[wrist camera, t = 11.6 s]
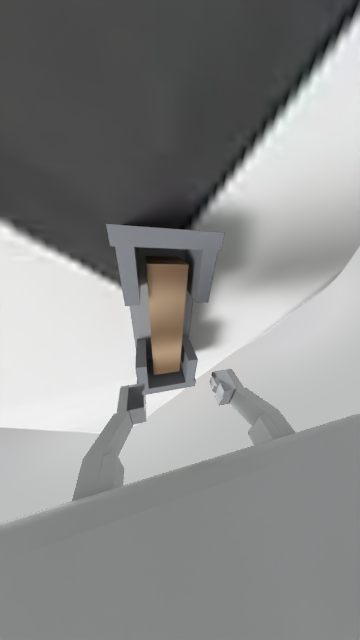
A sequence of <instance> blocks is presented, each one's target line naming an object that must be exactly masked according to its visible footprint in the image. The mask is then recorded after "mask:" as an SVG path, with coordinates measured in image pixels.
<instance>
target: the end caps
mask: <svg viewBox="0 0 360 640" xmlns="http://www.w3.org/2000/svg"><path fill="white" fill-rule="evenodd" d="M106 226H107V231H108V237H109V242H110V246H115V248H116V254H117V260H118V266H119V272H120V278H121V284H122V290H123V296H124V302H125V306H130V311H131V318H132V325H133V332H134V339H135V345H136V374H137V384H141V383H144V386H145V394H146V395H147V394H152V393H158V392H163V391H169V390H174V389H180V388H185V387H191V386H195V382H196V380H195V372H196V366H197V361H198V359H197V357H196V354H195V352H194V350H193V347H192V345H191V342H190V340H189V331H190V322H191V314H192V305H193V299H194V301H195V302H196V303H201V302H208V300H209V295H210V290H211V284H212V279H213V273H214V268H215V262H216V257H217V251H221V249H222V244H223V239H224V232H210V231H196V230H182V229H168V228H154V227H141V226H127V225H113V224H106ZM146 256H168V257H180V258H181V259H182V260H183V261H185V262H186V263H187V264H188V277H187V289H186V300H185V312H184V324H183V335H182V347H181V359H180V370H179V371H177V372H170V373H164V374H157V375H154V371H153V359H152V345H151V330H150V315H149V301H148V286H147V271H146Z"/></svg>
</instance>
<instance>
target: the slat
mask: <svg viewBox="0 0 360 640" xmlns="http://www.w3.org/2000/svg"><path fill="white" fill-rule="evenodd" d="M146 271H147V286H148V301H149V315H150V330H151V345H152V359H153V371H154V375H157V374H164V373H170V372H177V371H179V370H180V359H181V347H182V335H183V324H184V312H185V300H186V289H187V277H188V264H187V263H186V262H185V261H183V260H182V259H181V258H180V257H168V256H146Z"/></svg>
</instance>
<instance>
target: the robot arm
mask: <svg viewBox="0 0 360 640" xmlns="http://www.w3.org/2000/svg"><path fill="white" fill-rule="evenodd" d="M210 385H211V388H212V391H213V392H215V398H216V400H217V403H218V405H224V404H230V405H231V406H232V407H233V408H234V409H235V410H236V411H237V412H238V413H239V414H240V415H241V416H242V417H243V418H244V419H245V420H247V422H249V423H250V424H251V425H252V427H251V428H250V430H249V432H248V434H249V436H250V438H251V440H252V442H253V444H254V446H251V447H248V448H245V449H242V450H238V451H235V452H231V453H228V454H225V455H222V456H218V457H215V458H212V459H209V460H205V461H202V462H199V463H195V464H192V465H189V466H186V467H183V468H179V469H176V470H173V471H169V472H166V473H163V474H159V475H156V476H153V477H150V478H147V479H143V480H140V481H137V482H134V483H130V484H127V485H123V478H124V467H123V465H122V464H121V462H120V460H119V458H118V455H119V453H120V451H121V449H122V447H123V445H124V443H125V441H126V439H127V437H128V435H129V433H130V431H131V429H132V427H133V425H134V424H138V423H142V422H145V421H146V407H145V404H146V394H145V386H144V383H141V384H135V385H128V386H122V387H121V388H120V394H119V401H118V408H117V413H115V414H114V415H113V416H112V418H111V419H110V421H109V422H108V424H107V425H106V427H105V428H104V429H103V431H102V432H101V434H100V435H99V437H98V438H97V440H96V441H95V443H94V444H93V445H92V447H91V448H90V450H89V451H88V453H87V454H86V456H85V457H84V459H83V461H82V465H81V469H80V473H79V476H78V480H77V484H76V488H75V492H74V495H73V499H72V501H71V502H68V503H65V504H61V505H58V506H55V507H52V508H49V509H45V510H42V511H39V512H35V513H32V514H29V515H26V516H23V517H19V518H16V519H12V520H9V521H6V522H3V523H0V640H360V414H356V415H352V416H349V417H346V418H343V419H340V420H336V421H333V422H329V423H326V424H323V425H320V426H316V427H313V428H310V429H307V430H304V431H300V432H297V433H295V431H294V430H293V429H292V427H291V426H290V425H289V423H288V422H287V421H286V419H285V418H284V417H283V415H282V414H281V413H280V411H279V410H278V409H276V408H275V407H273V406H272V405H270V404H269V403H268V402H266V401H264V400H263V399H262V398H260V397H259V396H257V395H256V394H254V393H253V392H251V391H250V390H248V389H247V388H244V387H243V385H242V384H241V382H240V381H239V379H238V378H237V376H236V375H235V373H234V372H233V370H232V369H227V370H220V371H215V372H212V377H211V379H210Z"/></svg>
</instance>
